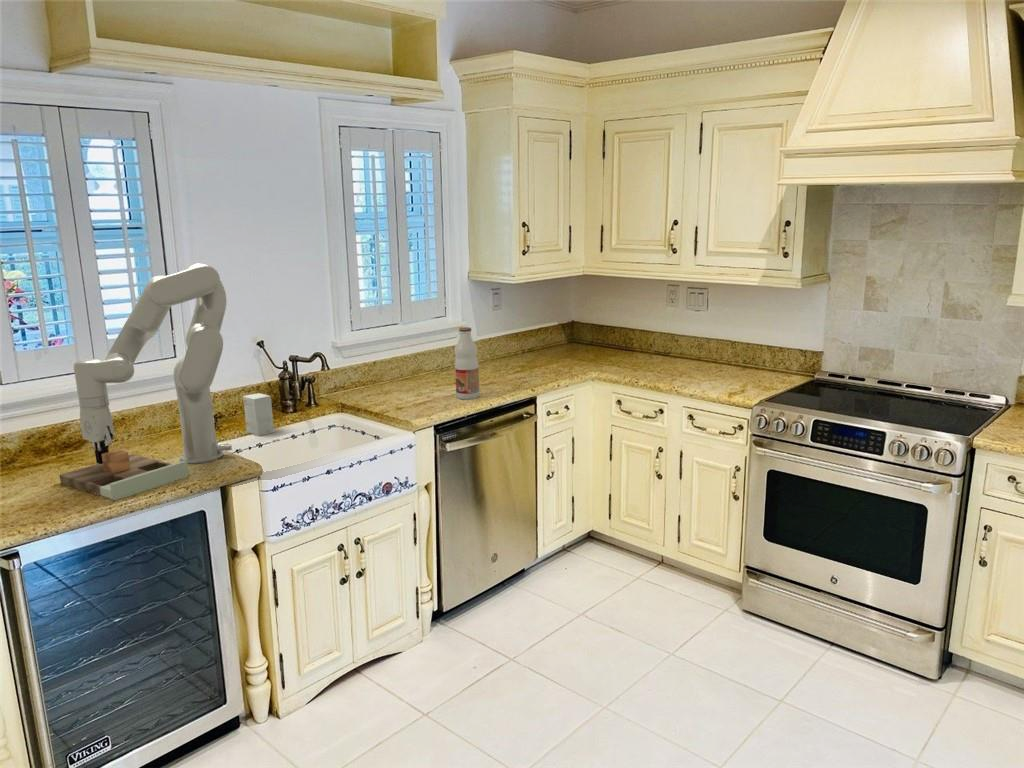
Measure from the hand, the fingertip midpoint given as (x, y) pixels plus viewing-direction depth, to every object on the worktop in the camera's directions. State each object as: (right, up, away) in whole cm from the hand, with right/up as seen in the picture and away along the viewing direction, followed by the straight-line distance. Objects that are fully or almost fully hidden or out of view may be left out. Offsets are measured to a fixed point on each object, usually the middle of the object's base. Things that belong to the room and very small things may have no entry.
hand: (103, 462), depth 226 cm
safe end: (+17, -5, -10) cm, 21 cm away
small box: (+33, +6, +41) cm, 53 cm away
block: (+6, -2, -4) cm, 7 cm away
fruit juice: (+102, +18, +83) cm, 133 cm away
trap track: (+6, -4, -3) cm, 8 cm away
